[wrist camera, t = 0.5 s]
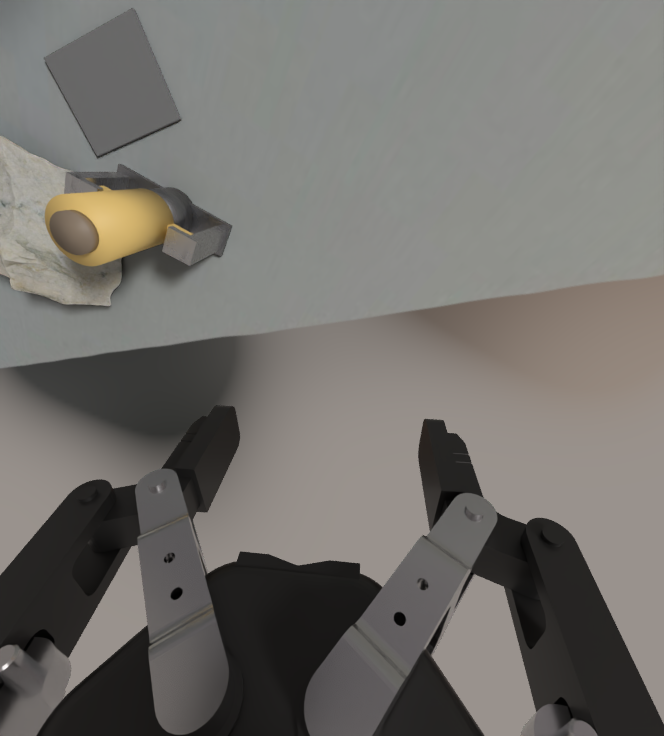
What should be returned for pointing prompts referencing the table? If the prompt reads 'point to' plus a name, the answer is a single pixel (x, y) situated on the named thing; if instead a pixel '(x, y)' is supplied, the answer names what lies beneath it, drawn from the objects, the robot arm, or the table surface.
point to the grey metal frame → (202, 225)
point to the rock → (42, 235)
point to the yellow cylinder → (107, 223)
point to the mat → (114, 84)
